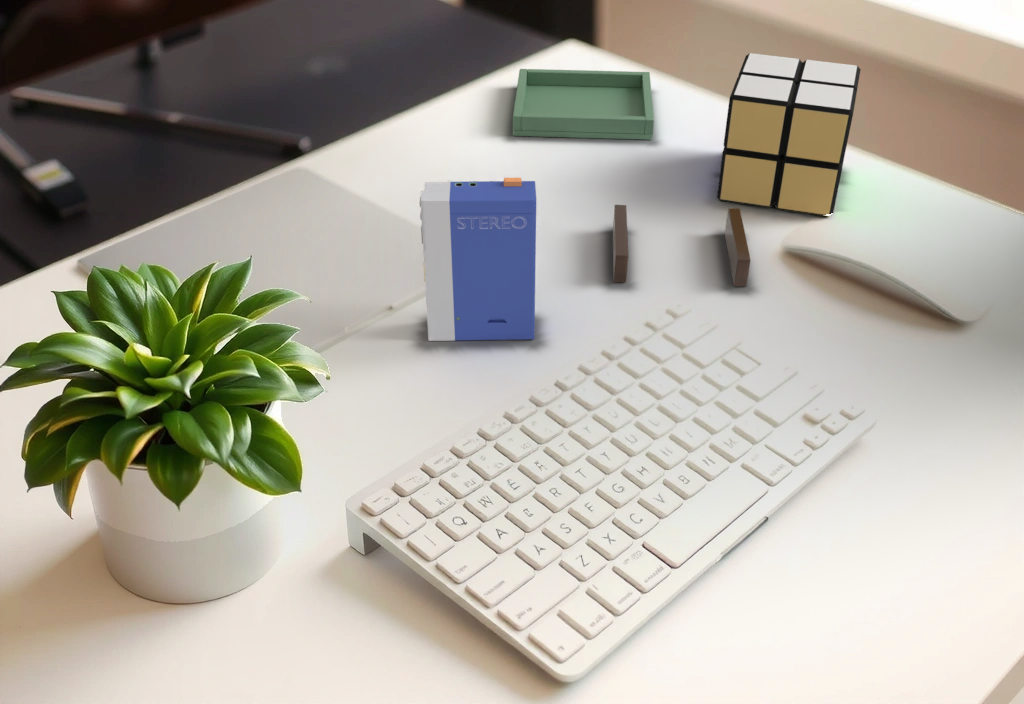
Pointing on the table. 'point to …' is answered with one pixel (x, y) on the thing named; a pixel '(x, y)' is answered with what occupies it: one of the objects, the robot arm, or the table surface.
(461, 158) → the table surface
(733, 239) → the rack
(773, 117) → the puzzle cube
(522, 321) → the walkman
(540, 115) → the tray
